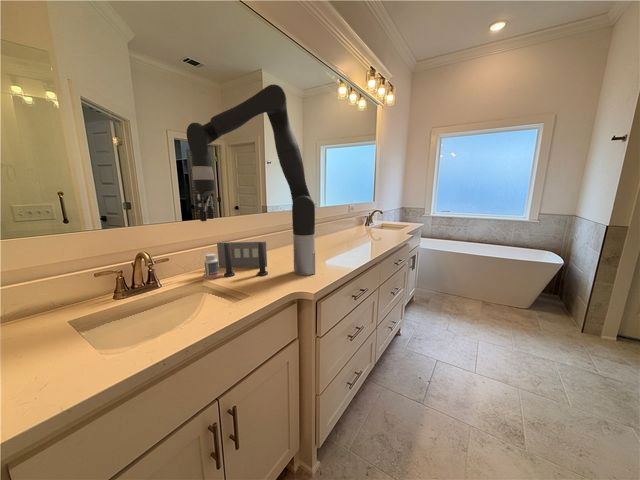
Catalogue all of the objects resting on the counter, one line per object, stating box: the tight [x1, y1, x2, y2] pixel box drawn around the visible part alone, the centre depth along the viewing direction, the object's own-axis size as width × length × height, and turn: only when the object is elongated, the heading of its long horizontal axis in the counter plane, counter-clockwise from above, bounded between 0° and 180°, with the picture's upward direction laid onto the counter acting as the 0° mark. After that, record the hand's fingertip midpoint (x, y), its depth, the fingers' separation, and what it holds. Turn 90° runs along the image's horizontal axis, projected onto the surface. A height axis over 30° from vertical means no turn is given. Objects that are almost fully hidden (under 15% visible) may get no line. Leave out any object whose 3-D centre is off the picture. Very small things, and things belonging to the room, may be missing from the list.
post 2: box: [257, 241, 269, 277], centre depth 108 cm, size 4×4×14 cm
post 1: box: [223, 243, 236, 278], centre depth 107 cm, size 4×4×14 cm
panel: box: [216, 241, 268, 269], centre depth 118 cm, size 22×2×12 cm, turn 95°
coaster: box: [201, 271, 224, 280], centre depth 108 cm, size 8×8×1 cm
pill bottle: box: [204, 253, 220, 277], centre depth 107 cm, size 5×5×9 cm
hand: (207, 219), depth 103 cm, fingers open, 8 cm apart
